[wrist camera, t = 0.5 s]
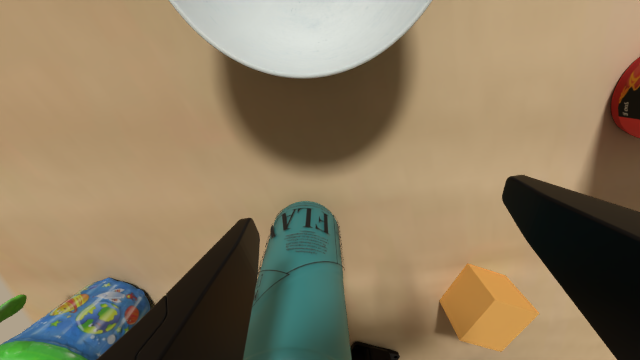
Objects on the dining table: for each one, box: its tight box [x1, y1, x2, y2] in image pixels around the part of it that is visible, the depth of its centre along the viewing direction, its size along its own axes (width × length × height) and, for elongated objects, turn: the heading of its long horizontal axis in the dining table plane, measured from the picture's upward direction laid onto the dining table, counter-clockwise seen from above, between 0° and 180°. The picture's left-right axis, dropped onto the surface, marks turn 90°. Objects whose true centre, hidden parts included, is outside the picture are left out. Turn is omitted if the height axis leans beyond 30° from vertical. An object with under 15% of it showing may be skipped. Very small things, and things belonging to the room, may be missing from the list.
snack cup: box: [0, 278, 150, 360], centre depth 26 cm, size 16×10×10 cm
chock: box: [440, 264, 539, 352], centre depth 28 cm, size 6×5×5 cm
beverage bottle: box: [243, 201, 352, 360], centre depth 17 cm, size 6×7×20 cm
